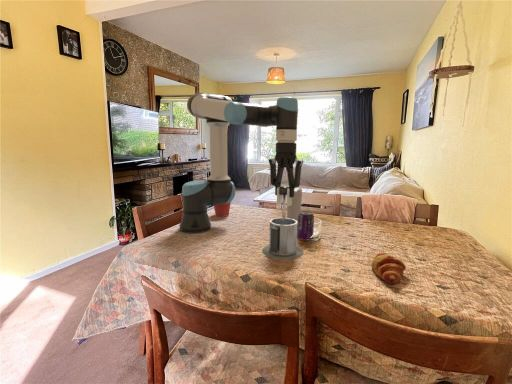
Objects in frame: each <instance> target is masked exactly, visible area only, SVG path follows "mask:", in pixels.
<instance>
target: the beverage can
mask: <svg viewBox="0 0 512 384" xmlns="http://www.w3.org/2000/svg"><path fill="white" fill-rule="evenodd" d="M314 225H315V216H314V212H312V211H309V210H301V212H299V215H298V227H297V239H300V240H304V241H305V240H312V239H311V238H310V237H311V236H312V235H313V236H314Z"/></svg>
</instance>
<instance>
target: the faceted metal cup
mask: <svg viewBox="0 0 512 384" xmlns="http://www.w3.org/2000/svg"><path fill="white" fill-rule="evenodd" d="M297 224H298V223H297V221H296V220H294V219H290V218H287V217H285V225H282V217H276V218H275V217H274V218H272V219H270V220H269V252H270V253H271V254H273V255H275V256H281V257H288V256H293V255H295V254H296V253H297V249H296V248H297V247H298V244H297V243H298V241H297V240H298V237H297V228H298V227H297Z"/></svg>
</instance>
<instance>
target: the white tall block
mask: <svg viewBox="0 0 512 384" xmlns="http://www.w3.org/2000/svg"><path fill="white" fill-rule="evenodd" d="M302 198H303V190H302V187H298V189H297V191H295V190H294V197H292V205H291V206H287V205H286V207H287V208H286V209H287V212H286V215H287V216H286V218H290V219H294V220H296V221H297V223H298V215H299V212H301V211H302ZM297 226H298V224H297Z"/></svg>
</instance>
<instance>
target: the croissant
mask: <svg viewBox="0 0 512 384" xmlns="http://www.w3.org/2000/svg"><path fill="white" fill-rule="evenodd" d="M370 267H371V268H372V270H373V272H374V273H375V274H376V275H377V276H378V277H379V278H381V279H382V280H384V282H386V283H388V284H395V283H398V282H399V281H400V280H401V278H403V276H404V271H405V270H406V265H405V263H404V262H403V261H402V260H401V259H400V258H398V257H396V256H393V255H391V254H388V253H385V252H382V253H381V252H379V253H377V254H376V255H375V256H374V258H373V260H372V261H371V265H370Z"/></svg>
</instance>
